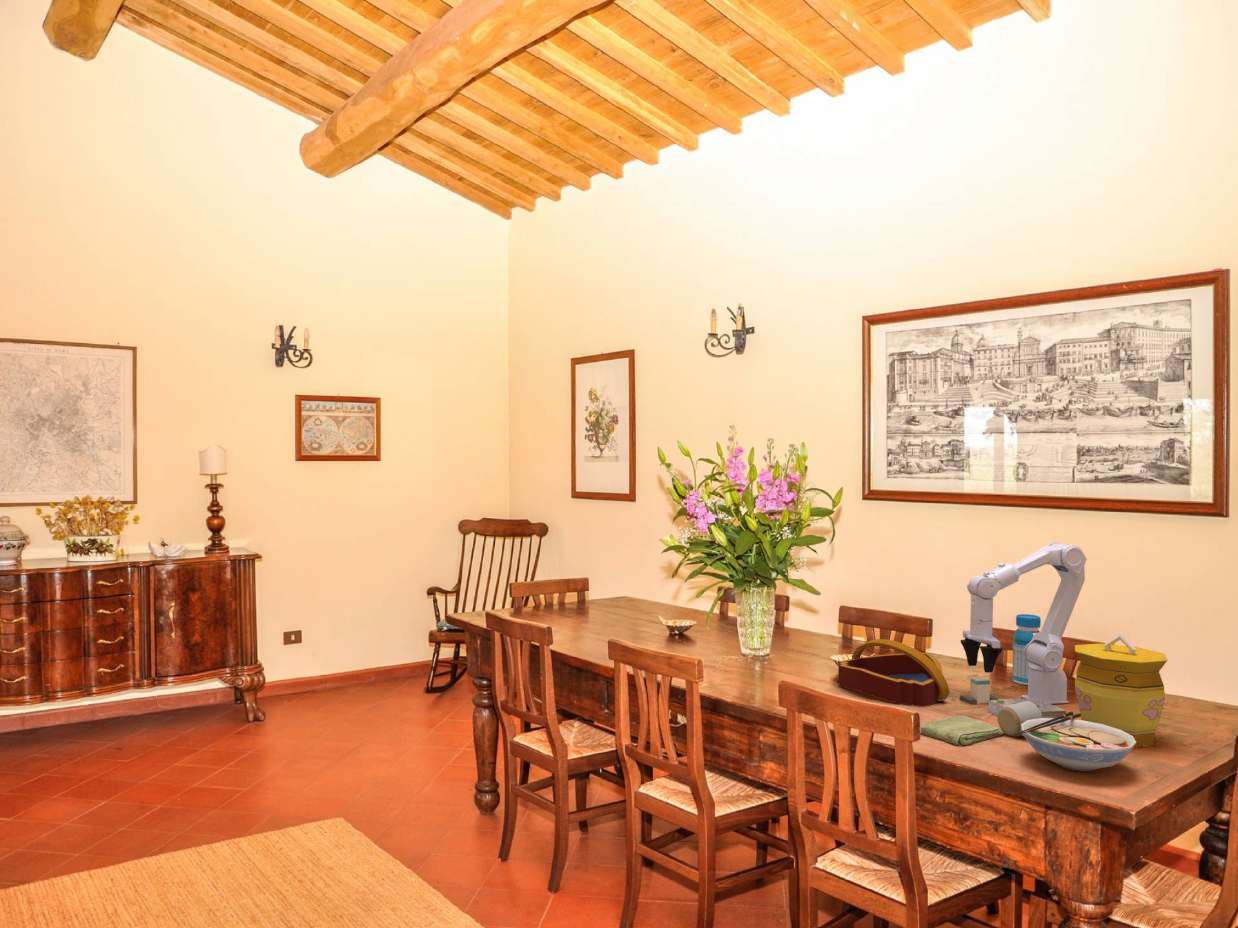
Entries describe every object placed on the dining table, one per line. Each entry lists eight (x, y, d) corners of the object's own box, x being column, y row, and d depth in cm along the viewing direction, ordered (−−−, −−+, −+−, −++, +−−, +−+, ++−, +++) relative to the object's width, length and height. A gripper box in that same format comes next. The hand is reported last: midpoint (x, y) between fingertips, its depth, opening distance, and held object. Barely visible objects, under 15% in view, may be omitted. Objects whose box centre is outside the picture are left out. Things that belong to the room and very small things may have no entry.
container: (1090, 718, 241) (1092, 622, 240) (1181, 738, 225) (1183, 635, 224) (1054, 734, 227) (1057, 632, 226) (1148, 756, 211) (1151, 647, 210)
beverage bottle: (1013, 684, 275) (1014, 617, 275) (1010, 677, 283) (1011, 612, 283) (1044, 686, 273) (1045, 619, 272) (1040, 680, 281) (1041, 614, 281)
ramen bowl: (1099, 793, 187) (1100, 753, 187) (996, 761, 206) (996, 724, 206) (1157, 770, 202) (1158, 732, 202) (1056, 742, 220) (1056, 707, 220)
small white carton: (983, 699, 258) (983, 676, 258) (989, 702, 255) (990, 679, 255) (969, 700, 257) (970, 676, 257) (976, 703, 254) (976, 679, 254)
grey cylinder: (994, 731, 228) (995, 700, 228) (1018, 727, 232) (1019, 697, 231) (1029, 745, 219) (1031, 712, 218) (1054, 740, 222) (1055, 709, 222)
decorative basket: (819, 689, 275) (814, 640, 274) (892, 665, 289) (888, 618, 287) (902, 721, 245) (897, 667, 244) (979, 693, 259) (976, 641, 257)
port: (1035, 709, 248) (1035, 695, 248) (1065, 722, 236) (1066, 708, 236) (988, 712, 245) (988, 698, 245) (1017, 725, 233) (1017, 710, 233)
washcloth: (1006, 737, 225) (1007, 724, 225) (960, 749, 215) (961, 735, 215) (960, 723, 236) (960, 710, 236) (914, 734, 226) (914, 721, 226)
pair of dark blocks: (988, 698, 259) (989, 693, 259) (999, 703, 254) (999, 698, 254) (959, 699, 257) (960, 695, 257) (970, 704, 252) (970, 700, 252)
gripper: (953, 615, 262) (952, 663, 262) (984, 624, 247) (983, 675, 248) (976, 614, 263) (974, 662, 263) (1007, 624, 249) (1006, 674, 249)
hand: (980, 668), depth 256 cm, fingers open, 7 cm apart
